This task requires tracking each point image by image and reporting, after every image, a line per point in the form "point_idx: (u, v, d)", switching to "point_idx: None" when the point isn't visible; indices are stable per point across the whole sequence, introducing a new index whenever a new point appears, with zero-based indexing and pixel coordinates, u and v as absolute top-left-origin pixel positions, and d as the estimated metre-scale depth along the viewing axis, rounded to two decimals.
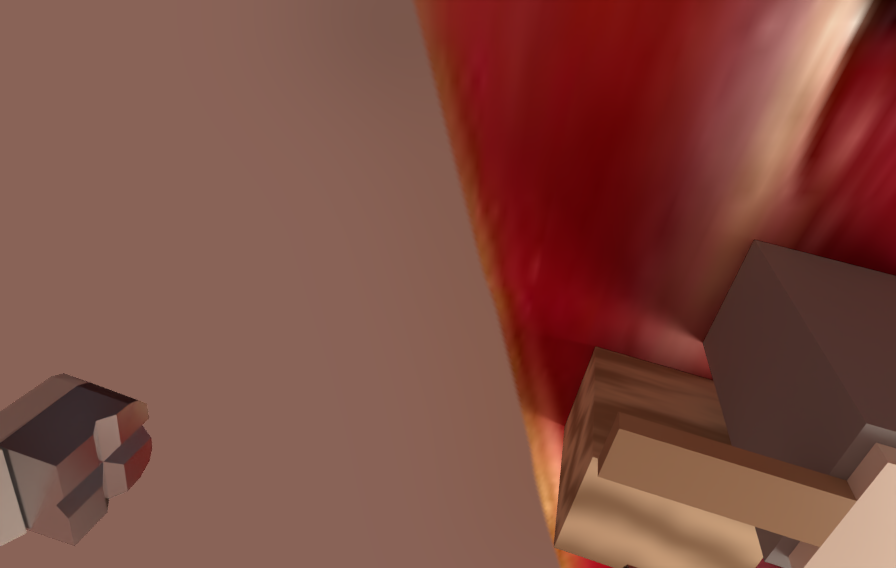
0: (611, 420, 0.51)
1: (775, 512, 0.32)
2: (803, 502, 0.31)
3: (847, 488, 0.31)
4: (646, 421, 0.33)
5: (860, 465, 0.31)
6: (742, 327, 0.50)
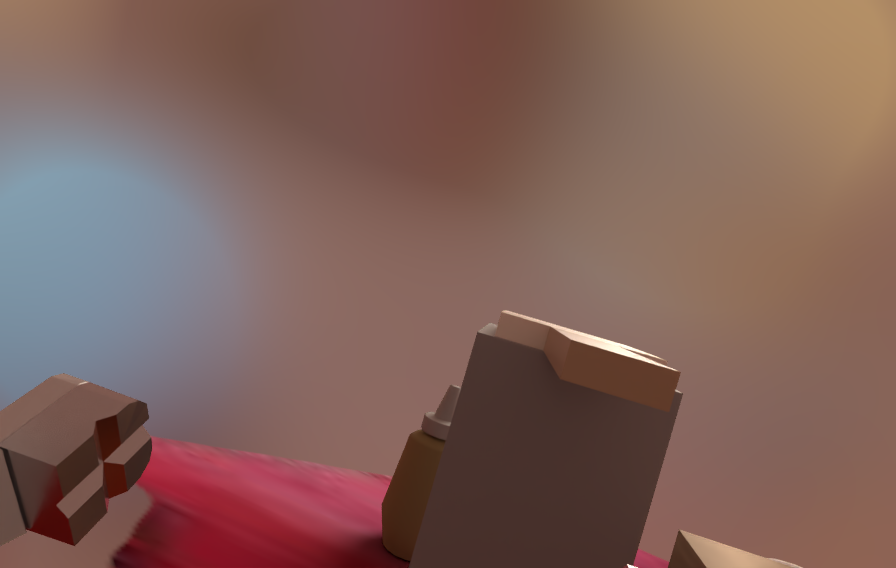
0: None
1: None
2: (573, 333, 0.31)
3: (546, 339, 0.33)
4: (557, 370, 0.22)
5: (521, 341, 0.34)
6: None
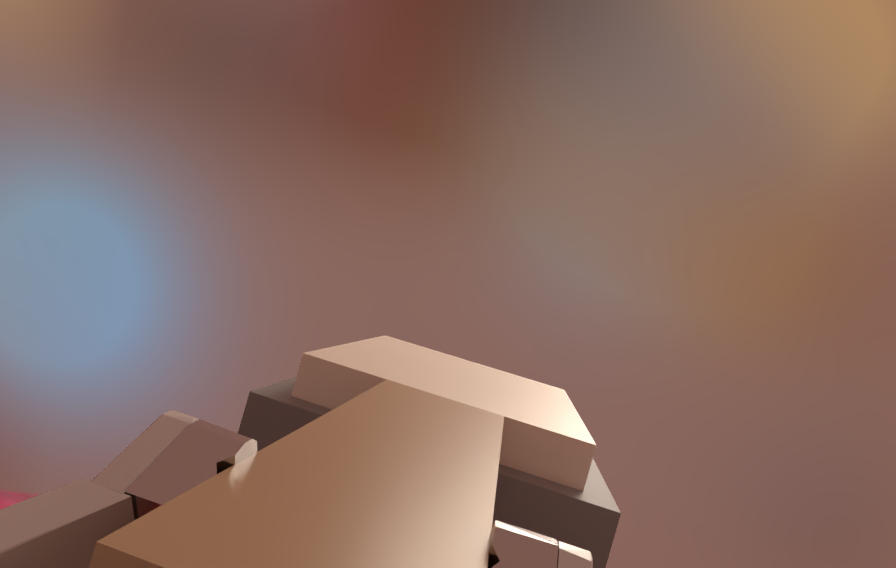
0: None
1: (447, 421, 0.15)
2: (408, 401, 0.16)
3: None
4: None
5: (337, 407, 0.19)
6: None
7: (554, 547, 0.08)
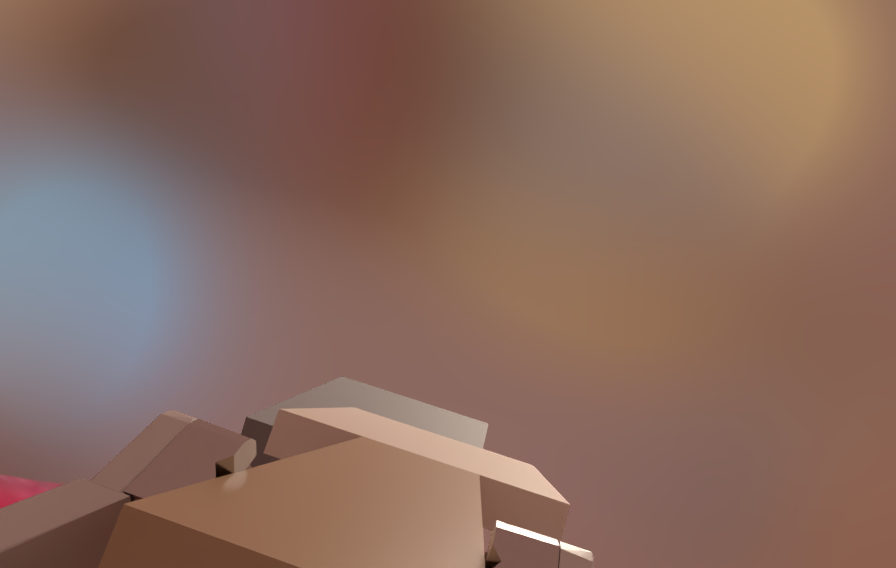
0: None
1: (426, 471, 0.15)
2: (386, 453, 0.16)
3: None
4: None
5: None
6: None
7: (555, 548, 0.08)
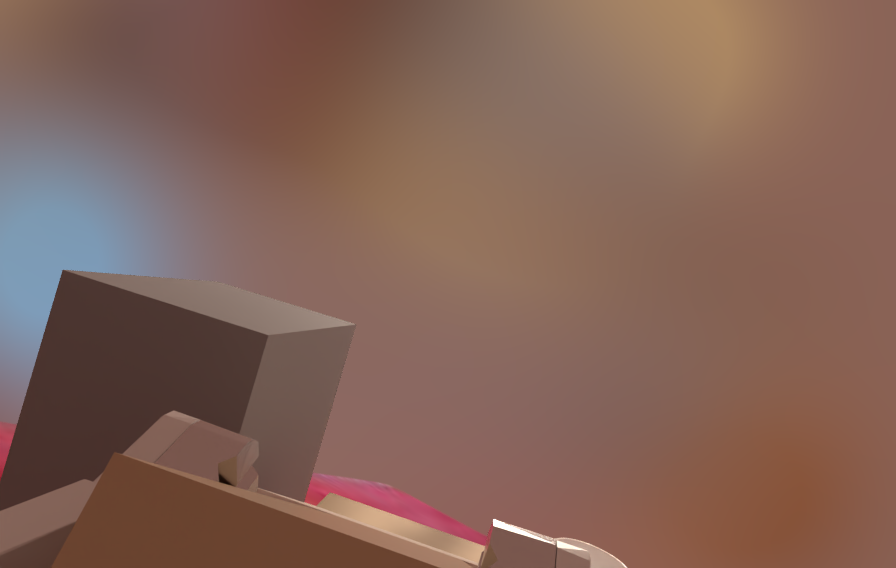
0: None
1: (407, 542, 0.14)
2: (363, 526, 0.15)
3: None
4: None
5: None
6: None
7: (552, 546, 0.08)
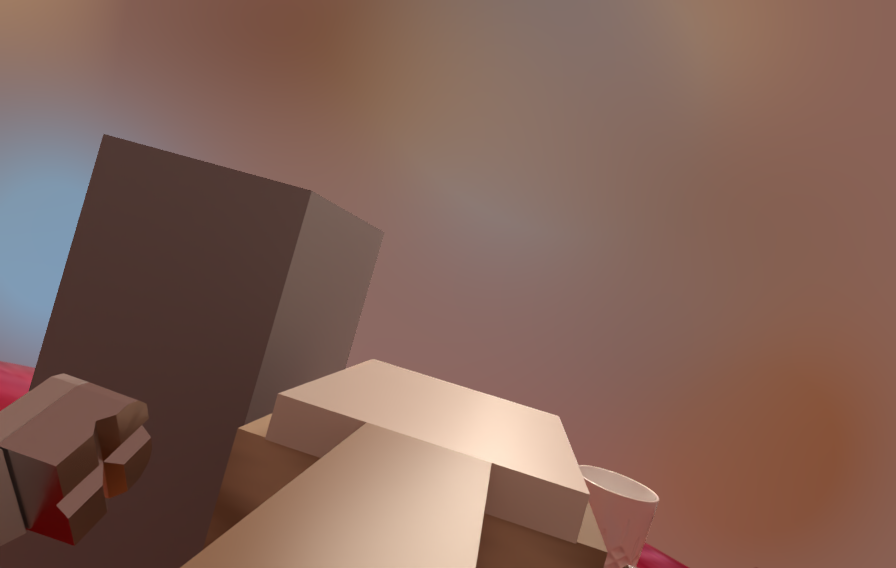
0: None
1: (427, 478, 0.14)
2: (386, 452, 0.15)
3: None
4: None
5: (314, 451, 0.18)
6: None
7: None
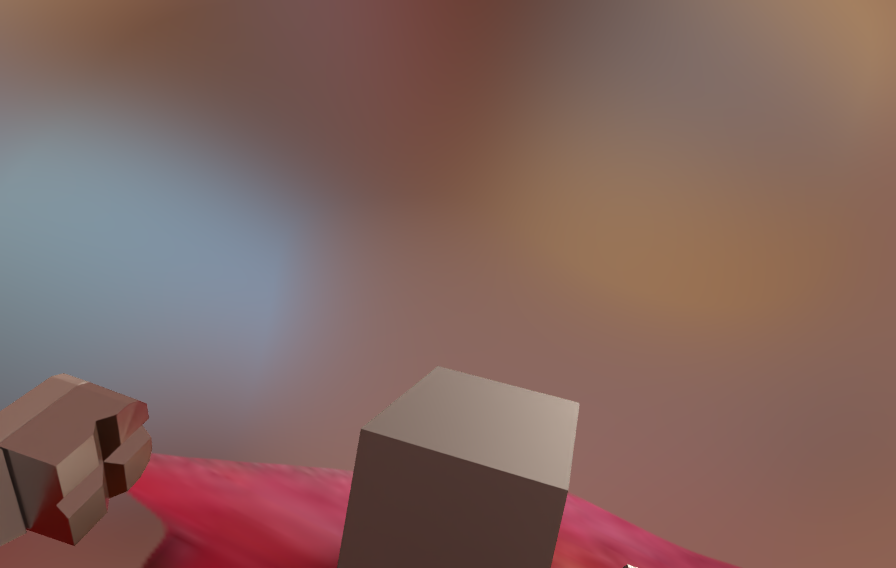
0: None
1: None
2: None
3: None
4: None
5: None
6: None
7: None
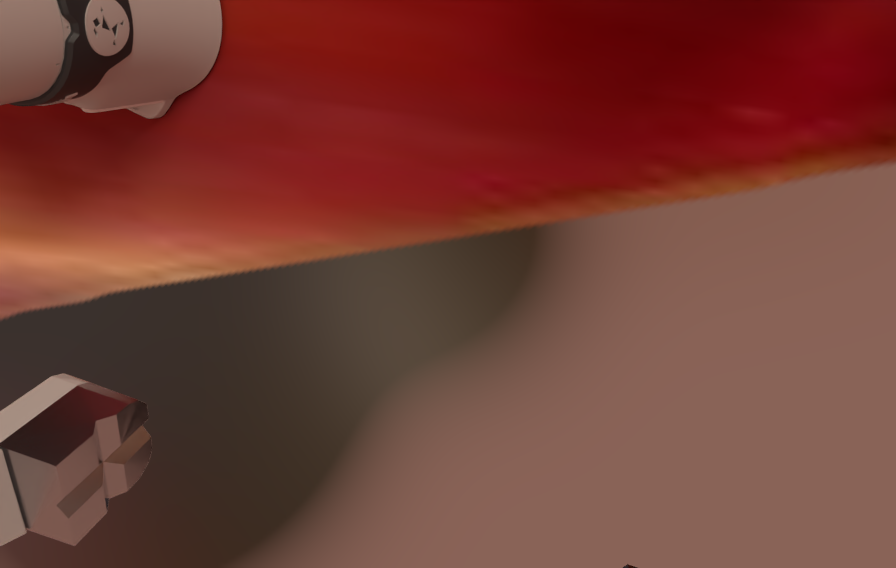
0: None
1: None
2: None
3: None
4: None
5: None
6: None
7: None
